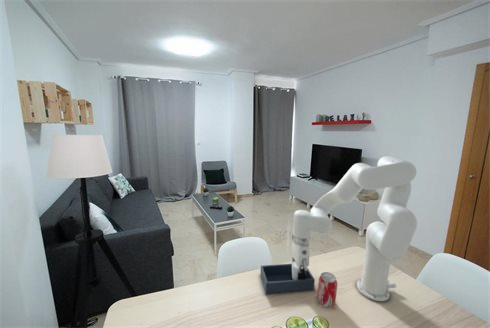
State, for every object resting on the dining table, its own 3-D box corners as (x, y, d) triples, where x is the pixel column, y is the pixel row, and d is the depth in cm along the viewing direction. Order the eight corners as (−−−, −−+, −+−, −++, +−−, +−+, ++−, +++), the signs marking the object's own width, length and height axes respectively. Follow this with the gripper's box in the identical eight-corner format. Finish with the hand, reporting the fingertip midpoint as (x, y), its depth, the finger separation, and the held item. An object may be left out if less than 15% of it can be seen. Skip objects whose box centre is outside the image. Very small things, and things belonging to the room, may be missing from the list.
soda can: (313, 298, 93) (315, 273, 91) (326, 293, 96) (328, 269, 94) (325, 311, 87) (328, 285, 85) (338, 306, 90) (342, 280, 87)
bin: (303, 272, 109) (304, 262, 108) (313, 290, 98) (314, 279, 97) (260, 276, 106) (260, 265, 105) (265, 294, 95) (266, 283, 94)
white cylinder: (306, 284, 98) (307, 270, 97) (290, 282, 100) (291, 268, 98) (305, 274, 105) (306, 260, 103) (290, 271, 106) (291, 258, 105)
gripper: (317, 248, 90) (314, 287, 94) (301, 228, 107) (299, 261, 111) (299, 249, 89) (297, 288, 93) (286, 228, 106) (284, 262, 110)
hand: (298, 273), depth 102 cm, fingers closed on white cylinder, 6 cm apart
